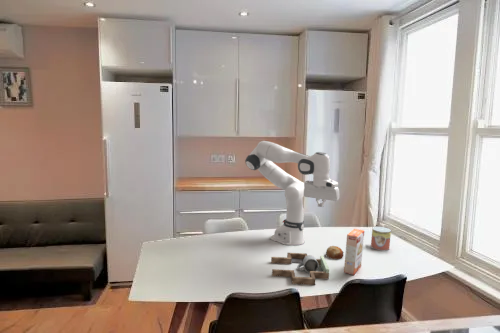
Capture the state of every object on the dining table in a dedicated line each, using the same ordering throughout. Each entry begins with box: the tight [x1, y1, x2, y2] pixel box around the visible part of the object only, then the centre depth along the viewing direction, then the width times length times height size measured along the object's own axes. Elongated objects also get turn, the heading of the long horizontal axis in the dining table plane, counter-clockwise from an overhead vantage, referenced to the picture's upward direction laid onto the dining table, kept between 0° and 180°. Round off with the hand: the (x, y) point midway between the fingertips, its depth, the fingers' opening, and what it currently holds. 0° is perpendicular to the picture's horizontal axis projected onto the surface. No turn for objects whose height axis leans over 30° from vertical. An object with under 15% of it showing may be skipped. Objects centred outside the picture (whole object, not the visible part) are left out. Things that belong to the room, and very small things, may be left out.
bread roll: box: [325, 245, 345, 260], centre depth 209 cm, size 10×10×8 cm
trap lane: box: [270, 252, 330, 286], centre depth 187 cm, size 28×33×3 cm
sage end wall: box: [319, 255, 330, 274], centre depth 187 cm, size 2×18×5 cm, turn 178°
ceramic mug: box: [296, 254, 320, 274], centre depth 188 cm, size 11×8×8 cm
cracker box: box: [343, 228, 365, 276], centre depth 189 cm, size 14×6×21 cm, turn 148°
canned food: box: [370, 226, 392, 252], centre depth 226 cm, size 11×11×12 cm
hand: (320, 206), depth 196 cm, fingers closed
